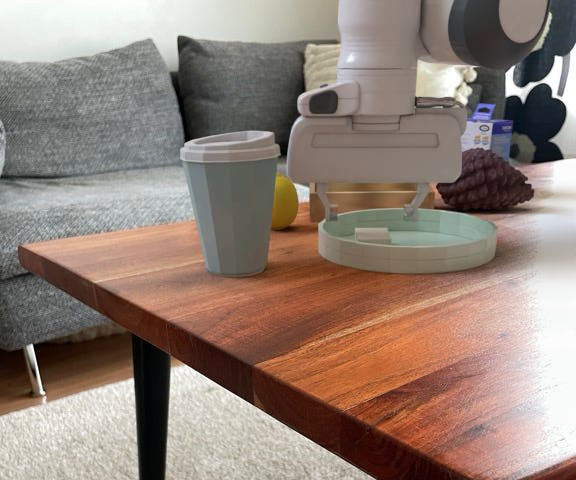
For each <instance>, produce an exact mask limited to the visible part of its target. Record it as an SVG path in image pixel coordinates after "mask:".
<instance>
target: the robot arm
mask: <svg viewBox="0 0 576 480" xmlns="http://www.w3.org/2000/svg"><path fill="white" fill-rule="evenodd" d="M552 2H553V0H338V5H337V6H338V10H337V13H338V14H337V29H338V32H339V35H340V51H339V57H338V59H337V63H336V79H335V81H334V82H332V83H324V84H322V85H321V84H320V85H319V87H316V88H314V89H311V90H308V91H304V92H303V93H301V94H300V95H299V96H298V97H297V101H296V102H297V103H296V104H297V111H298V114H300V115H299V116H298V117H297V118H296V119H295V121H294V122H293V125H292V126H291V130H290V135H289V140H288V147H287V155H286V177H287V179H289V180H290V181H291V182H292V183H293V184H310V183H317V194H318V196H319V198H320V200H321V201H322V203H323V205H324V207H325V221H337V220H338V215H337V213H338V205H337V204H331V203H330V202H329V200H328V198H327V196H326V194H325V192H328V184H329V183H415V189H416V191H417V192H418V193H417V195H416V196H415V198H414V199H413V201H412V203H411V204H404V211H405V212H404V215H403V219H404V221H410V222H412V221H413V222H417V215H418V207H419V206H420V205H421V203H422V202H423V200H424V199H425V197H426V196H427V194H428V193H429V186H430V184H438V183H453V182H455V181H456V180H457V179H458V177H459V176H460V175H461V171H462V144H461V136H462V135H463V134H464V132H465V130H466V126H467V118H468V110H467V108H466V105H465V104H464V103H462V102H461V101H459V100H456V97H455V96H454V97H453V96H443V97H434V96H416V93H417V79H418V61H420V62H424V63H428V64H440V65H449V66H450V65H451V66H472V67H477V68H482V69H488V70H494V71H495V70H496V71H501V70H506V69H509V68H512V67H514V66H516V65H518V64H519V63H521V62H522V61H523V60H525V59H526V58H527V57H528V56H529V55H530V53H532V52H533V50H534V49H535V48H536V46H537V45H538V43H539V41H540V39H541V37H542V36H543V34H544V31H545V29H546V27H547V23H548V20H549V16H550V11H551V6H552V4H553V3H552ZM456 106H457V107H456Z"/></svg>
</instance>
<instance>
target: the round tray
mask: <svg viewBox="0 0 576 480" xmlns="http://www.w3.org/2000/svg"><path fill="white" fill-rule="evenodd" d="M404 212H405V211H404V208H385V209H369V210H359V211H352V212H347V213H341V214H337V215H338V220H337V221H325V219H324V220H323V221H321V222H318V224H317V225H318V226H317V250H318V251H317V252H318V254H319V255H320V256H321V257H322V258H323V259H325V260H327V261H328V262H331V263H333V264H336V265H338V266H339V265H340V266H342V267H346V268H351V269H355V270H361V271H366V272H373V273H374V272H375V273H385V274H398V275H399V274H400V275H426V274H427V275H428V274H429V275H430V274H444V273H452V272H458V271H459V272H460V271H465V270H469V269H474V268H477V267H480V266H482V265H485V264H488V263H489V262H491V261H492V260H493V259H494V258H495V256H496V252H497V244H498V234H499V227H498V226H497V225H496V224H495V223H494V222H493V221H490V220H488V219H486V218H483V217H482V216H477V215H474V214H469V213H464V212H458V211H451V210H443V209H435V208H434V209H420V208H418V215H417V222H413V221H412V222H410V221H404V219H403V215H404ZM355 228H387V229H388V231H389V234H390V236H391V239H392V245H382V244H371V243H363V242H358V241H355Z"/></svg>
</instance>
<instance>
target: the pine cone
mask: <svg viewBox="0 0 576 480" xmlns="http://www.w3.org/2000/svg"><path fill="white" fill-rule="evenodd" d="M527 181H529V178H528V176H526V175H525V174H523V173H522V171H521V170H519V169H516V168H515V167H514V166H511V164H510V161H509V162H507V161H504V158H503V157H499V156H498V155H497V154H496V153H493V152H492V151H491V150H490V149H488V150H484V149H483V148H479V147H478V148H476V149H473V148H471V149H469V150H466V151H463V152H462V171H461V175H460V176H459V177H458V179H457V180H456V181H455V182H453V183H436V185H435V189H436V190H437V193H438V195H440V198H441V200H442V201H443V204H445V205H448V206H449V207H453V209H454V211H459V210H462V212H466V211H468V210H469V209H471V208H473V209H478V208H482V209H483V210H495V211H497V210H503V209H509V208H510V207H516V206H518V204H524V203H525V202H530V201H531V200H532V199H533V198H534V197H535V189H534V188H532V187H533V185H532V183H527Z"/></svg>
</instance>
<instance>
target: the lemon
mask: <svg viewBox="0 0 576 480" xmlns="http://www.w3.org/2000/svg"><path fill="white" fill-rule="evenodd" d="M298 194H299V193H298V190H297V188H296V186H295V183H293V182H292V181H291V180H290V179H289V178H288V177H287V176H283V175H282V174H281V173H279V172H276V182H275V192H274V202H273V212H272V222H271V229H273V230H275V231H283V230H285V229H286V228H287V227H289V226H291V225H292V224H293V223H294V222H295V220H296V218H297V216H298V212H299V195H298Z"/></svg>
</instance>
